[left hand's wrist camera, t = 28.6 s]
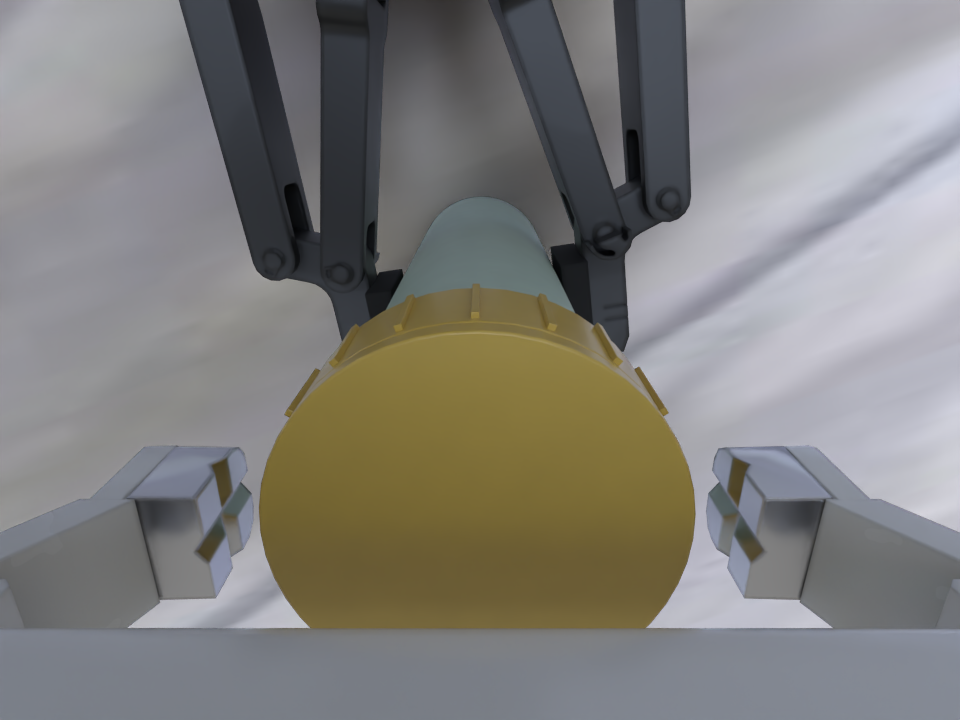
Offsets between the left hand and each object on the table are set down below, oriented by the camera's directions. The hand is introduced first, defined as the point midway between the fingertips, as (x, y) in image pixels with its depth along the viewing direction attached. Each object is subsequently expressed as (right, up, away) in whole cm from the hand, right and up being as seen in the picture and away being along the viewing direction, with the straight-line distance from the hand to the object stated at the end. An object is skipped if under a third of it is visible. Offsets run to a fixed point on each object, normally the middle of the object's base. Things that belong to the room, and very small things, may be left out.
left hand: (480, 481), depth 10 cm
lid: (0, 0, -2) cm, 2 cm away
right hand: (+1, -1, +10) cm, 10 cm away
